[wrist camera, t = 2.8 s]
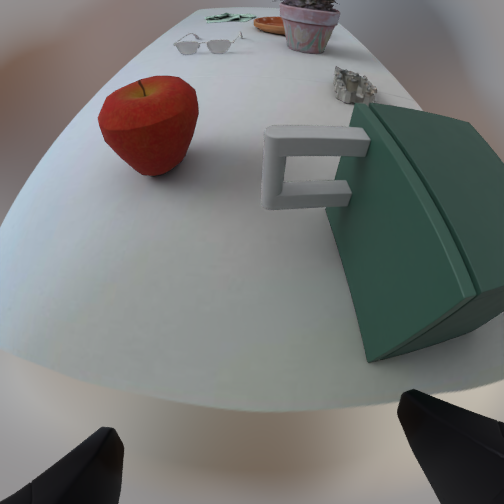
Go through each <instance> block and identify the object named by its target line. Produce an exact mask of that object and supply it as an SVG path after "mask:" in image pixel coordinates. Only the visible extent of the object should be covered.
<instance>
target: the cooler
mask: <svg viewBox="0 0 504 504" xmlns="http://www.w3.org/2000/svg"><path fill="white" fill-rule="evenodd" d="M368 107H369V108H370V110H371V111H372V112H373V113H374V115H375V116H376V117H377V118H378V120H379V121H380V122H381V123H382V125H383V126H384V127H385V129H386V130H387V131H388V133H389V134H390V135H391V137H392V138H393V140H394V141H395V142H396V144H397V145H398V147H399V148H400V149H401V151H402V152H403V154H404V155H405V157H406V158H407V160H408V161H409V163H410V164H411V166H412V167H413V169H414V170H415V172H416V173H417V175H418V177H419V178H420V180H421V181H422V183H423V185H424V186H425V188H426V190H427V191H428V193H429V195H430V197H431V198H432V200H433V202H434V204H435V205H436V207H437V209H438V211H439V213H440V214H441V216H442V218H443V220H444V222H445V224H446V226H447V228H448V230H449V232H450V234H451V236H452V238H453V240H454V242H455V244H456V246H457V248H458V250H459V253H460V255H461V257H462V259H463V262H464V264H465V266H466V269H467V271H468V273H469V276H470V278H471V281H472V283H473V286H474V289H475V291H476V296H475V297H474V298H472V299H471V300H470V301H468V302H467V303H466V304H464V305H463V306H462V307H460V308H459V309H458V310H456V311H455V312H454V313H452V314H451V315H449V316H448V317H447V318H445V319H444V320H442V321H441V322H439V323H438V324H437V325H435V326H434V327H432V328H431V329H429V330H428V331H426V332H425V333H423V334H421V335H420V336H418V337H417V338H415V339H414V340H412V341H410V342H409V343H407V344H405V345H404V346H402V347H400V348H399V349H397V350H395V351H394V352H392V353H390V354H388V355H387V356H385V357H383V358H381V359H380V360H383V359H387V358H391V357H394V356H398V355H402V354H405V353H409V352H412V351H415V350H419V349H422V348H425V347H428V346H431V345H435V344H438V343H441V342H444V341H446V340H449V339H452V338H455V337H458V336H460V335H463V334H466V333H468V332H471V331H473V330H475V329H477V328H479V327H480V326H482V325H483V324H485V323H487V322H488V321H490V320H491V319H493V318H494V317H496V316H497V315H499V314H500V313H502V312H503V311H504V163H503V162H502V161H501V159H500V158H499V157H498V156H497V154H496V153H495V152H494V151H493V150H492V148H491V147H490V146H489V145H488V143H487V142H486V141H485V140H484V139H483V138H482V136H481V135H480V134H479V133H478V132H477V131H476V130H475V129H474V127H473V126H472V125H471V124H470V123H468V122H465V121H461V120H457V119H454V118H450V117H446V116H442V115H437V114H433V113H428V112H424V111H419V110H414V109H408V108H403V107H397V106H391V105H384V104H377V103H369V106H368Z"/></svg>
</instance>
